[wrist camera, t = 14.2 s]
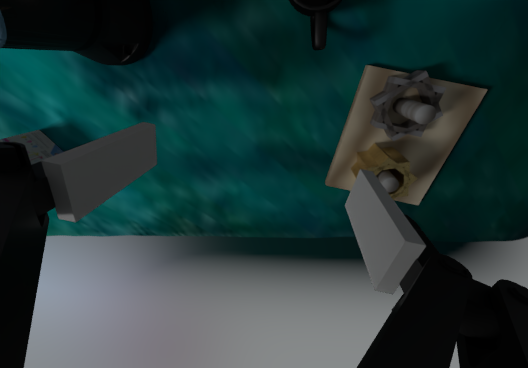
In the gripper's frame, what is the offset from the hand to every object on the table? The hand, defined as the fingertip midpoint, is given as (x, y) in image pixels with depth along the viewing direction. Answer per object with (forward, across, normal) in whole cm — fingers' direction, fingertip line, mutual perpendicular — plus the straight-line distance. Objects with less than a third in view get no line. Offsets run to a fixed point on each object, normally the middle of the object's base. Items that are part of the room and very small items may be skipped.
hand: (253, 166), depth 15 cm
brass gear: (+27, +19, -7) cm, 34 cm away
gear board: (+29, +21, -2) cm, 36 cm away
